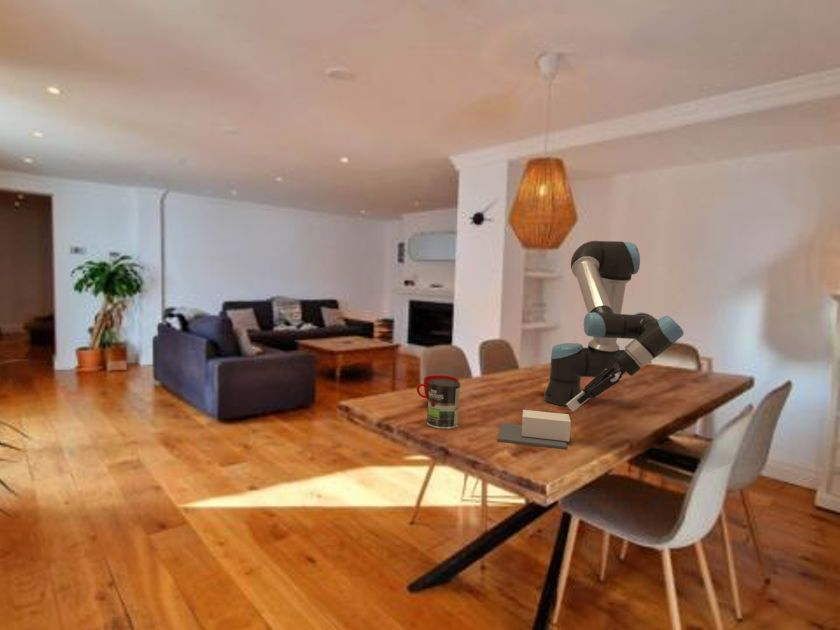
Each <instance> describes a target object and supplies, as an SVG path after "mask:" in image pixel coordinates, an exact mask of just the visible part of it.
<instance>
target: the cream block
mask: <svg viewBox="0 0 840 630" xmlns="http://www.w3.org/2000/svg"><path fill="white" fill-rule="evenodd" d="M571 424H572V423H571V418H570V414H569V413H561V412H560V413H559V412H558V413H557V412H548V411H540V410H539V411H538V410H531V409H530V410H529V409H523V410H522V421H521V425H522V435H521V436H525V437H531V438H540V439H549V440H558V441H566V442H570V438H571V435H570V434H571Z"/></svg>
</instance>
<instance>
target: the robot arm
mask: <svg viewBox="0 0 840 630" xmlns="http://www.w3.org/2000/svg"><path fill="white" fill-rule="evenodd" d="M640 265H641V256H640V251H639V249H638V246H637V245H636V244H635V243H633V242H629V241H620V240H619V241H613V240H612V241H611V240H590V241H587V242H584V243H583V244H581V245H580V246H578V248H576V250H575V251H574V252H573V254H572V256H571V259H570V268H571V272H572V274H573V276H574V277H576V279H577V282H578V285H579V289H580V292H581V296H582V298H583V301H584V305H585V309H586V314H585V315H584V319H583V331H584V333H585V335H586V336H588V337H593V338H592V339H591V340H590V341H588V343H587V347H584V346H583V344H582V343H579V342H578V343H577V342H574V343H573V342H569V343H568V342H566V343H559V344H555V345H554V346H552V349H551V354H550V371H549V382H548V385H547V387H546V389H545V391H544V393H543V400H544V402H547V403H550V404H552V405H557V406H562V407H563V406H565V407H568V408H569V410H571V412H575V411H576V410H578V409H579V408H580V407H581V406H582V405H583V404H585V403H586V402H587V401H588V400H590V399H595V398H596V397H598V396H600V395H601V394H602V393H604V392H605V391H606V390H608V389H610V388H611V387H613V386H614V385H616V384H618V383H620V380H621V379H622V378H623V377H622V376H623V375H624V374H625V373H627V374H628V376H631V377H632V376H634V375H635V374H637V372H639V371H640V370H641V367H645V366H647V364H649V365H650V364H652V363H653V362H652V361H653V360H654V359H655V358H657V357H658V356H659V355H661V354H662V353H663V352H665V351H666V350H667V349H669V348H670V347H671V346H673V345H674V344H675V343H677V341H678V340H680V339H681V338H682V337H683V336H684V330H683V328H682V327H681V326H680V324H678V323H677V322H676V321H675V320H674V319H673V318H672V317H670V316H669V315H664V316H662V317H660V318H658V319H657V318H656V317H654V316H653V315H651V314H649V313H646V312H644V311H643V312H642V311H640V312H636V313H634V314H629V313H628V314H623V313H622V310H623V303H624V296H625V290H626V285H627V283H629V282H630V281H632V276H633V275H636V274H637V273H638V272H639V270H640ZM618 339H627V340H628V339H629V340H631V339H632V341H630V342H629V343H628V344H627V345H625V346H624V349H620V346H619V344H618V343H617V340H618ZM582 377H583V378H593V379H592V380H591V381H590V382H589V383H587V384H586V385H584V387H583V389H581V378H582Z"/></svg>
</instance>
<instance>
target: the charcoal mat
mask: <svg viewBox="0 0 840 630" xmlns="http://www.w3.org/2000/svg"><path fill="white" fill-rule="evenodd" d="M521 435H522V424H514V423H505V422H500V426H499V431H498V436H497V442H501V443H510V444H517V445H525V446H526V445H527V446H533V447H543V448H550V449H551V448H552V449H559V450H568V444H567V441H558V440H549V439H540V438H531V437H525V436H521Z"/></svg>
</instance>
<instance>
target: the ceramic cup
mask: <svg viewBox="0 0 840 630" xmlns="http://www.w3.org/2000/svg"><path fill="white" fill-rule="evenodd" d="M432 379H450V380H455V381H458V382H460V381H459V379H458V378H457V377H453V376H450V375H449V376H448V375H428V376H425V377H424V378H423V383H420V384H418V385H417V387H416V392H417V394H418V396H419V397H421V398H424V399H426V400H428V394H429V381H430V380H432ZM421 387H423V389H424V390H423V391H424V395H423V394H422V393H421V392H420V388H421Z"/></svg>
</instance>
